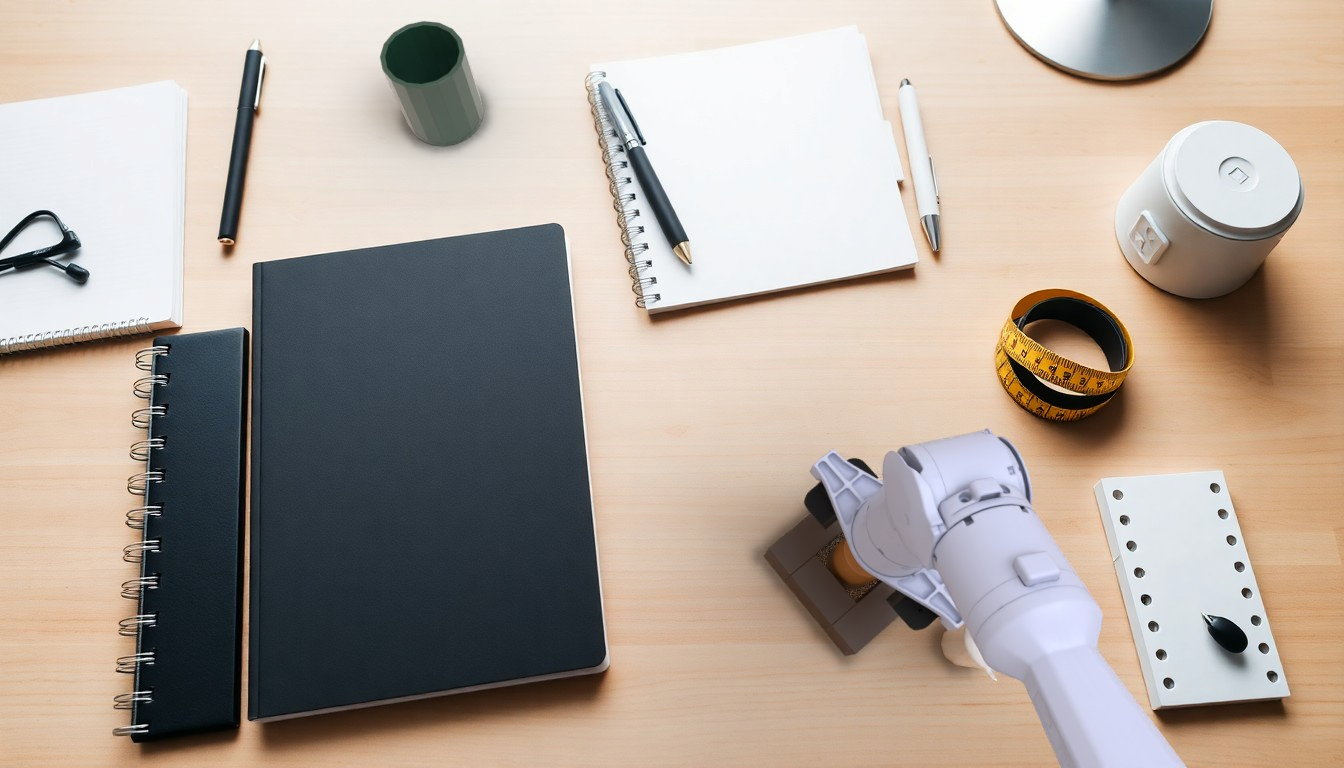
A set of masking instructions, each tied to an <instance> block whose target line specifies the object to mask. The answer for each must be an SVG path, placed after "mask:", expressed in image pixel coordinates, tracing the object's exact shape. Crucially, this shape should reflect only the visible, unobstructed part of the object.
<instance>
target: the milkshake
mask: <svg viewBox="0 0 1344 768" xmlns="http://www.w3.org/2000/svg"><path fill="white" fill-rule="evenodd" d="M940 646H941V650H942V652H943V655H944V657H945V658H946V659H947V660H948V661H950V662H951V663H952V664H953V665H954V666H959V667H960V666H961V667H967V668H968V667H969V668H975V669H980V670H985V671H986V672H987V674H988V676H989V678H990V679H991V680H994V681H996V682H998V679H997V677H996V675H995V674H994V672H995V673H998V672H997V671H995V670H993V669H991V668H990V667H989V666H988V665H987V664H986V663H985V662H984V660H983V658H982V656H981V654H980V652H979V650H978V648H977V647H976V645H975V643H974V641H973V639H972V637H971V635H970V633H969V631H968V629H967V627H966V625H965V623H964V624H963V625H962V626H961V627H959V628H958V629H955V630H951V631H948V630H947V629H946V630H945V631H943V634H942V638H941V642H940Z"/></svg>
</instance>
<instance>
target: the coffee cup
mask: <svg viewBox="0 0 1344 768" xmlns="http://www.w3.org/2000/svg"><path fill="white" fill-rule="evenodd" d="M379 60H380V65H381V68H382V72H383V74H384V76H385V78H386V80H387V83H388V84H389V87H390V89H391V91H392V94H393V96H394V98H395V100H396V102H397V104H398V106H399V108H400V110H401V113H402V115H403V116H404V119H405V122H406V124H407V126H408V127H409V128H410V130H411V132H412V133H413V135H414V136H415V137H416V138H418V139H419V140H420V141H422V142H424V143H426V144H428V145H432V146H438V147H448V146H453V145H457V144H459V143H463V142H464V141H466V140H467V139H469V138H470V137H472V136H473V135H474V134H475V133H476V132H477V131H478V129H479V128H480V127H481V124H482V122H483V119H484V105H483V102H482V99H481V95H480V91H479V88H478V86H477V83H476V79H475V76H474V73H473V70H472V65H471V64H470V60H469V57H468V55H467V52H466V48H465V44H464V42H463V38H461V36H459V34H458V33H457V32H456V30H454V29H453V28H452V27H449V26H448V25H446V24H443V23H441V22H440V21H439V22H438V21H427V20H421V21H417V22H413V23H412V22H411V23H408V24H405V25H404V26H402V27H400V28H399V29H397V30H395V31H394V32H392V33H391V34H390V36H389V37H388V38H387V39H386V41H385V42H384V43H383V45H382V49H381V51H380V56H379Z"/></svg>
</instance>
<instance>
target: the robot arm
mask: <svg viewBox="0 0 1344 768" xmlns="http://www.w3.org/2000/svg"><path fill="white" fill-rule="evenodd" d="M809 473H810V475H811V476H812V477H813V478H814V479H815V480H816V481H817V482H818V483H817V484H816V485H815V486H813V487H812V488H811V489H810V490H808V492H807V493H806V494H805V497H804V500H803V505H804V507H805V508H806V509H807V511H808V512H809V514H812V515H813V516H814V517H815V519H816V520H817V521H818V522H819V523H820V524H821V525H822V526H823V528H824V529H825V530H826V529H827V528H828V527H829V526H831V525H832V524H833V523H834V522H835V521H837V520H838V521H839V523H840V526H841V528H842V531H843V533H842V534H843V536H844V538H846V540H847V543H848V545H849V548H850V550H851V553H852V555H853V557H854V558H855V560H856V561H857V562H858V564H859V565H860V566H861V567H862V568H863V569H864V570H865V571H867V572H868V573H870V574H871V575H873V576H874V577H876V578H877V579H878V580H881V581H883V582H885V583H886V584H888V585H890V586H891V587H893V588H895V589H896V591H895V592H893V593H892V594H891V595H890V596H889V597H888V598H887V599H886V601H887V602H888V603H889V604H890V606H891V607H892V608H893V609H894V611H895V612H896V613H897V614H898V615H899V616H898V617H899V618H900V619H901V620H902V622H904V623H905V625H906V626H907V627H908V628H909V629H911V630H912V631H921V630H925V629H926V628H928V627H929V626H930V625H931V624H932V623H933V622H935V621H936V620H937V619H938V618H939V619H938V620H939V622H940V623H941V625H942V626H943V627H944V628H945V629H946V631H947V630H948V631H951V630H955V629H958V628H959V627H961V626H962V625H963V624H964V623H965V625H966V627H967V629H968V631H969V633H970V635H971V637H972V639H973V641H974V643H975V645H976V647H977V648H978V650H979V652H980V654H981V656H982V658H983V660H984V662H985V663H986V664H987V665H988V666H989V667H990V668H991V669H993V670H995V671H997V672H996V673H998V674H1001V675H1004V676H1007V677H1009V678H1012V679H1015V680H1017V681H1020V682H1021V683H1022V684H1023V685H1024V687H1025V690H1026V692H1027V694H1028V697H1029V699H1030V701H1031V704H1032V705H1033V707H1034V710H1035V712H1036V714H1037V717H1038V719H1039V721H1040V724H1041V726H1042V728H1043V730H1044V732H1045V735H1046V737H1047V740H1048V741H1049V744H1050V746H1051V749H1052V751H1053V753H1054V755H1055V757H1056V759H1057V762H1058V764H1059V766H1060V768H1188V766H1187V765H1186V764H1185V762H1184V761H1183V760H1182V759H1181V757H1180V756H1179V755H1178V753H1177V752H1176V751H1175V749H1174V748H1173V747H1172V746H1171V744H1170V743H1169V742H1168V740H1167V739H1166V738H1165V736H1164V735H1163V734H1162V733H1161V731H1160V730H1159V729H1158V727H1157V726H1156V724H1154V722H1153V721H1152V719H1151V718H1150V716H1149V715H1148V714H1147V713H1146V711H1145V710H1144V708H1143V707H1142V705H1140V704H1139V702H1138V701H1137V699H1136V698H1135V697H1134V696H1133V694H1132V693H1131V692H1130V690H1129V689H1128V688H1127V687H1126V685H1125V684H1124V683H1123V681H1122V679H1120V677H1119V676H1118V674H1117V673H1116V672H1115V671H1114V669H1113V668H1112V667H1111V665H1110V664H1109V663H1108V661H1107V660H1106V659H1105V657H1104V656H1103V655H1102V654H1101V652H1100V651H1099V649H1098V644H1099V638H1100V636H1101V635H1100V634H1101V631H1102V628H1103V621H1104V614H1103V611H1102V609H1101V607H1100V605H1099V603H1098V602H1097V601H1096V599H1095V598H1094V597H1093V595H1092V594H1091V593H1092V592H1090V591H1089V589H1088V588H1087V586H1086V584H1085V583H1084V582H1083V580H1082V578H1081V577H1080V576H1079V574H1078V573H1077V572H1076V570H1075V569H1074V567H1073V566H1072V564H1071V562H1070V561H1069V559H1068V558H1067V557H1066V555H1065V554H1064V552H1063V551H1062V549H1061V548H1060V546H1059V545H1058V543H1057V542H1056V540H1055V539H1054V537H1053V536H1052V534H1051V533H1050V531H1049V530H1048V529H1047V527H1046V525H1045V524H1044V523H1043V521H1042V519H1041V518H1040V516H1039V515H1038V514H1037V512H1036V511H1035V509H1034V507H1033V501H1034V500H1033V487H1032V481H1031V477H1030V473H1029V470H1028V468H1027V465H1026V463H1025V460H1024V458H1023V456H1022V454H1021V453H1020V451H1019V449H1018V448H1017V446H1016V445H1015V444H1014V443H1013V442H1012V441H1011V440H1009V439H1008V438H1006V437H1005V436H1001V435H1000V436H997V435H996V434H994V432H992V430H991V428H985V429H982V430H977V431H973V432H967V433H964V434H958V435H953V436H948V437H944V438H938V439H933V440H928V441H924V442H919V443H915V444H914V443H913V444H910V445H909V444H908V445H905V446H901V447H900V448H898V450H897V451H895V450H889V451H887V452H886V454H885V455H884V457H883V461H882V480H880V479H879V476H878V475H877V474H876V473H875V471H873V470H872V468H871V467H869V465H868V464H867V463H866V462H865V461H864V460H862V459H860V458H858V457H851V458H848V459H845V458H844V457H843V456H841V454H840V453H839V452H838V451H836V449H835V448H832V449H830V450H829V451H828V452H827V453H825V454H824V455H823V456H822V457H821V458H819V459H817V460H816V461H815V462H814V463H813V465H811V467H810V469H809Z"/></svg>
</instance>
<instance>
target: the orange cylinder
mask: <svg viewBox="0 0 1344 768" xmlns="http://www.w3.org/2000/svg"><path fill="white" fill-rule="evenodd" d="M825 566H826V567H827V568H828V569H829V570H830V572H831V573H832V574H833V575H834V576H835V577H836V579H837V580H838V581H839V582H840V583H841V585H842V586H843V587H844V588H845V589H846V590H851V591H852V590H857V589H860V588H862V587H864V586H866V585H868V584H869V583H872V582H873V581H876V580H877V579H878V578H876V577H874V576H873V575H871V574H870V573H868V572H867V571H865V570H864V569H863V568H862V567H861V566H860V565H859V564H858V562H857V561H856V560H855V558H854V557H853V555H852V553H851V550H850V548H849V545H848V543H847V540H846V538H845V537H844V538H843V539H842V540H841V541H840V542H838V543H837V544H836V545H835V546H834V547H833V548H831V550H830V551H829V553H828V555H827V557H826V562H825Z"/></svg>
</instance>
